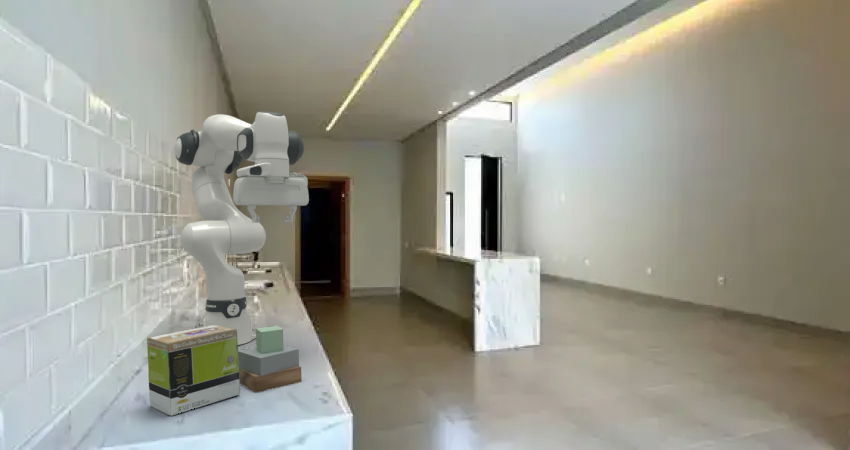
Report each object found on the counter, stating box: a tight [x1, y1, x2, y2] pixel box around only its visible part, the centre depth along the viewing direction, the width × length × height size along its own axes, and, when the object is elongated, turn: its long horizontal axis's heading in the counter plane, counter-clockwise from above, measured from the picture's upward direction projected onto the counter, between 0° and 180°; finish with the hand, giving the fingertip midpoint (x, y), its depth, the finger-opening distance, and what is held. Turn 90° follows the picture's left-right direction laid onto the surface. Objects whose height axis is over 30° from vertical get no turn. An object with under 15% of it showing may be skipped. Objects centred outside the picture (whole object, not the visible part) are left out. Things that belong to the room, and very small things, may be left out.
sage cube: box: [255, 325, 284, 354], centre depth 119 cm, size 5×5×5 cm
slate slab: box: [238, 344, 300, 376], centre depth 119 cm, size 10×10×4 cm
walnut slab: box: [239, 365, 302, 393], centre depth 119 cm, size 11×11×4 cm
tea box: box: [146, 325, 241, 417], centre depth 106 cm, size 15×10×15 cm, turn 141°
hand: (273, 222), depth 136 cm, fingers open, 8 cm apart
